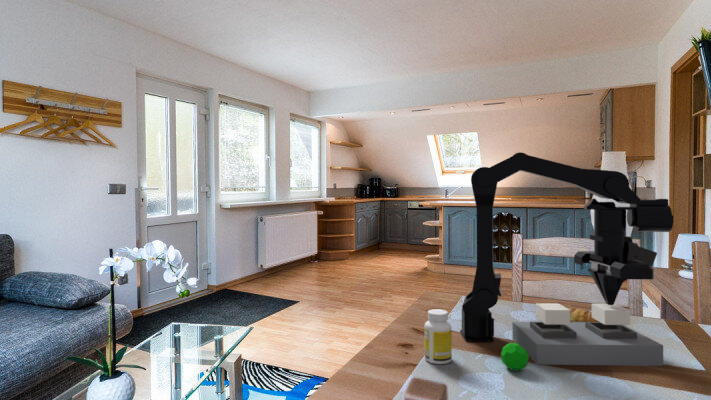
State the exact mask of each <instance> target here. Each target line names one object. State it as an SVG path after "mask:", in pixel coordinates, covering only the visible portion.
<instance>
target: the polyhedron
mask: <svg viewBox="0 0 711 400" xmlns="http://www.w3.org/2000/svg"><path fill="white" fill-rule="evenodd" d="M529 358H530V357H529V355H528V353H527V350H525V349H524V348H523V347H521V346H520V345H519V344H517V343H516V342H509V343H507V344H505V345H503V347H502V349H501V352H500V359H501V362H502V364H503V365H505V366H506V367H507V368H508V369H510V371H514V370H518V371H519V372H520V371H523V370H524V369H525V368H527V366H528V362H529Z"/></svg>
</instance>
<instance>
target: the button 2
mask: <svg viewBox="0 0 711 400" xmlns="http://www.w3.org/2000/svg"><path fill="white" fill-rule="evenodd" d="M591 312H592V318H594V319H595V320H597V321H599V322H601V323H603V324H604V325H625V326H630V324H631V311H630V309H627V308H625V307H623V306H622V305H619V304H616V303H614V305H608V304H606V303H591Z"/></svg>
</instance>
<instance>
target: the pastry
mask: <svg viewBox="0 0 711 400" xmlns="http://www.w3.org/2000/svg"><path fill="white" fill-rule="evenodd" d="M568 309H569V310H570V322H599V321H597V320H595V319H594V318H592V311H590V310H588V309H582V308H575V307H569V308H568Z"/></svg>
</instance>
